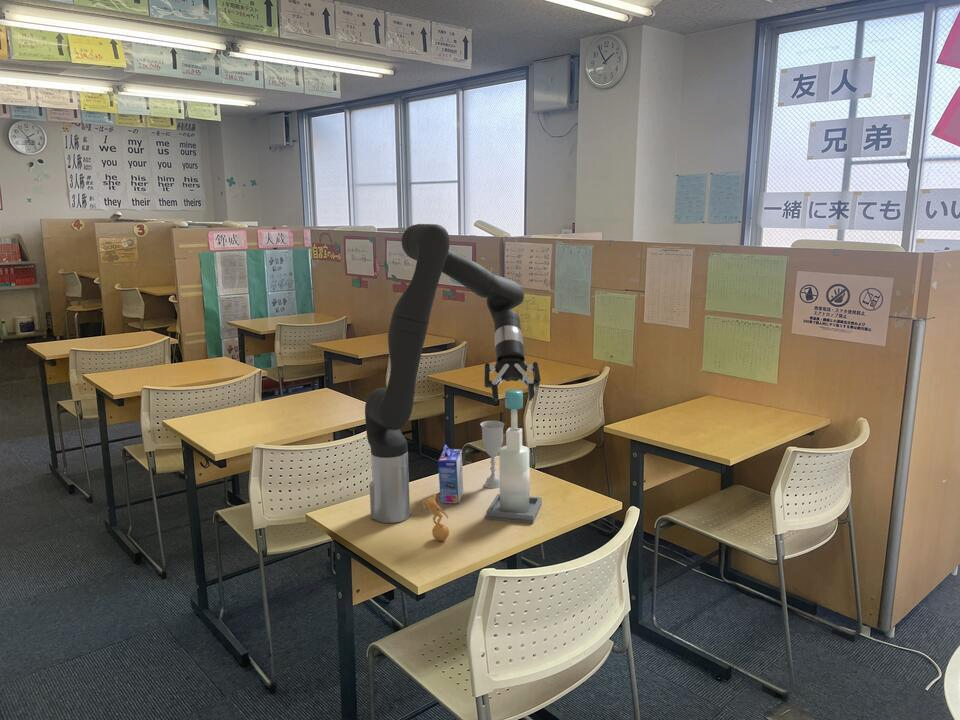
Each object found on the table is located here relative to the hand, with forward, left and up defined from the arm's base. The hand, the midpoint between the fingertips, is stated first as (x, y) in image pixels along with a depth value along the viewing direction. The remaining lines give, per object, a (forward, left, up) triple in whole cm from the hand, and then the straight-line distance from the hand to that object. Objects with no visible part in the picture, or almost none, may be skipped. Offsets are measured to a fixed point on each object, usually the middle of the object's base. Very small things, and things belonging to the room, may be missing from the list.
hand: (513, 399), depth 175 cm
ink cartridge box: (-19, +6, -30) cm, 36 cm away
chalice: (-10, +17, -30) cm, 36 cm away
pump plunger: (0, 0, -8) cm, 8 cm away
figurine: (-14, -21, -30) cm, 39 cm away
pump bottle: (0, 0, -30) cm, 30 cm away
